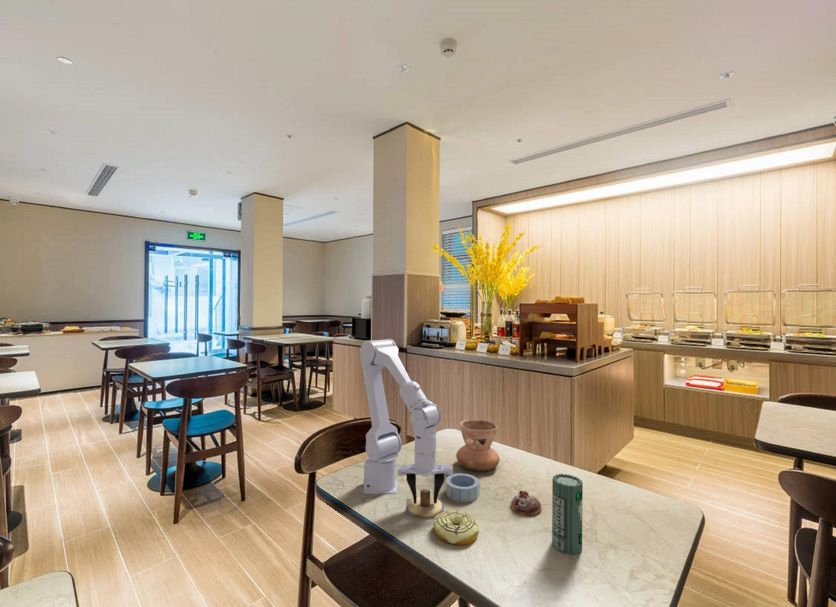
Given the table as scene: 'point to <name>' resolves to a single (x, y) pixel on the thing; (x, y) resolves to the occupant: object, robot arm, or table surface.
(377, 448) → the robot arm
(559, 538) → the can
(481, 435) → the ceramic jug
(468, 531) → the decorated donut
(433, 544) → the table surface
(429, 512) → the bamboo lid
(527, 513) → the pastry
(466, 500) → the bowl
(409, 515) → the rubber mat
